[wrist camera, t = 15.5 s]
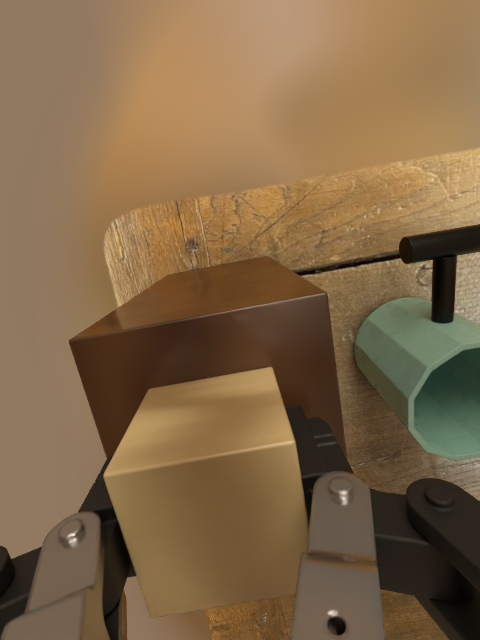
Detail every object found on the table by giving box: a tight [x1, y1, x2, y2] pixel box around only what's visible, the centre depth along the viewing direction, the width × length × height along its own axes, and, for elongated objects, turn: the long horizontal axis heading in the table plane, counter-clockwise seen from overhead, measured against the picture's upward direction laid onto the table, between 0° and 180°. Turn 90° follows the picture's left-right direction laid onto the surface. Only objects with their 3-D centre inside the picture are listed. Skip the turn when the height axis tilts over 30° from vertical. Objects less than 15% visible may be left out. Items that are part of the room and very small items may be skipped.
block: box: [103, 367, 309, 618], centre depth 10 cm, size 4×4×4 cm
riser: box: [69, 256, 347, 459], centre depth 22 cm, size 9×9×19 cm
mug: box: [354, 224, 480, 461], centre depth 26 cm, size 15×9×10 cm, turn 9°
